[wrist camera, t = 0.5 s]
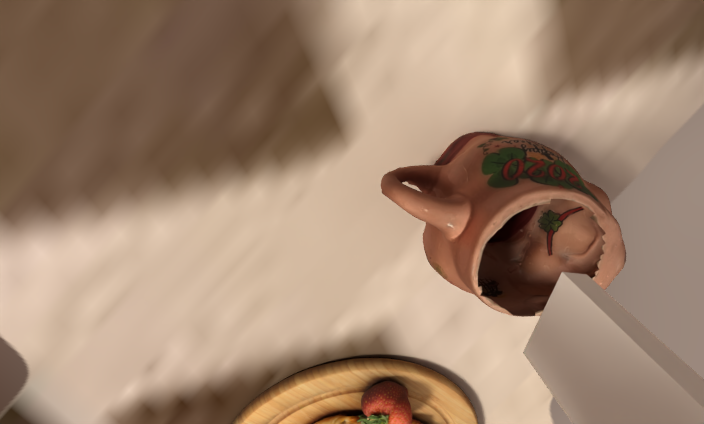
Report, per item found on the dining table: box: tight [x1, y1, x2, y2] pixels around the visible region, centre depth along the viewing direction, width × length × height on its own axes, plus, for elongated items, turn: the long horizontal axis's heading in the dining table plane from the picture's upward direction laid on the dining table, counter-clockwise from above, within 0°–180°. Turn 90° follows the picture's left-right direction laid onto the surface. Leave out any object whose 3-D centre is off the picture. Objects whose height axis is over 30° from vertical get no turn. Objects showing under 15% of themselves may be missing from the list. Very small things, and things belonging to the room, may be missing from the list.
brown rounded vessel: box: [381, 132, 626, 316], centre depth 34 cm, size 20×12×14 cm, turn 74°
